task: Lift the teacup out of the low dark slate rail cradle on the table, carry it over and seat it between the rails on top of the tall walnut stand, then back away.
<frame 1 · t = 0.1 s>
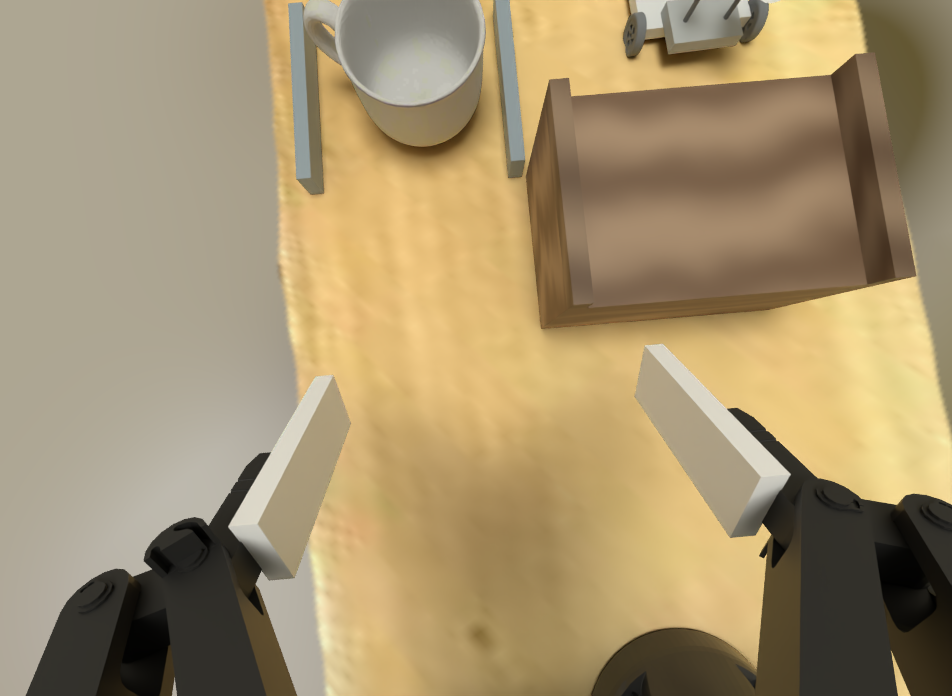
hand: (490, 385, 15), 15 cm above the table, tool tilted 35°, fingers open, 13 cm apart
walnut stand: (644, 241, 32), on the table
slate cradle: (410, 102, 33), on the table
teacup: (410, 104, 33), on the table
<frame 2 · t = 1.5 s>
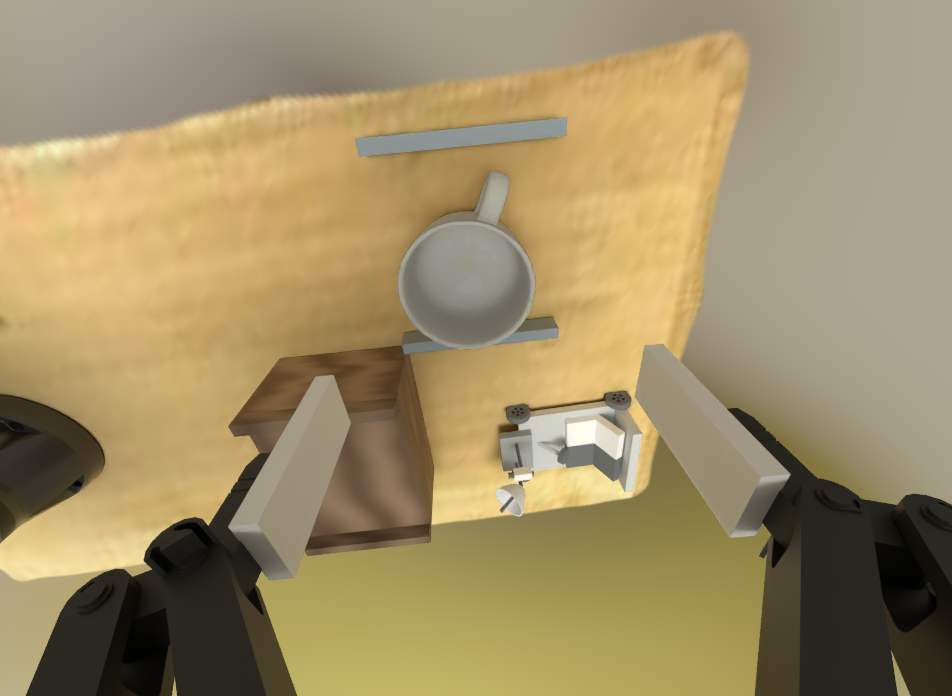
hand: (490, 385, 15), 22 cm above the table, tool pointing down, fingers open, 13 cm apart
walnut stand: (366, 419, 44), on the table
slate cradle: (471, 246, 34), on the table
teacup: (471, 246, 34), on the table
toy rover: (554, 429, 48), on the table
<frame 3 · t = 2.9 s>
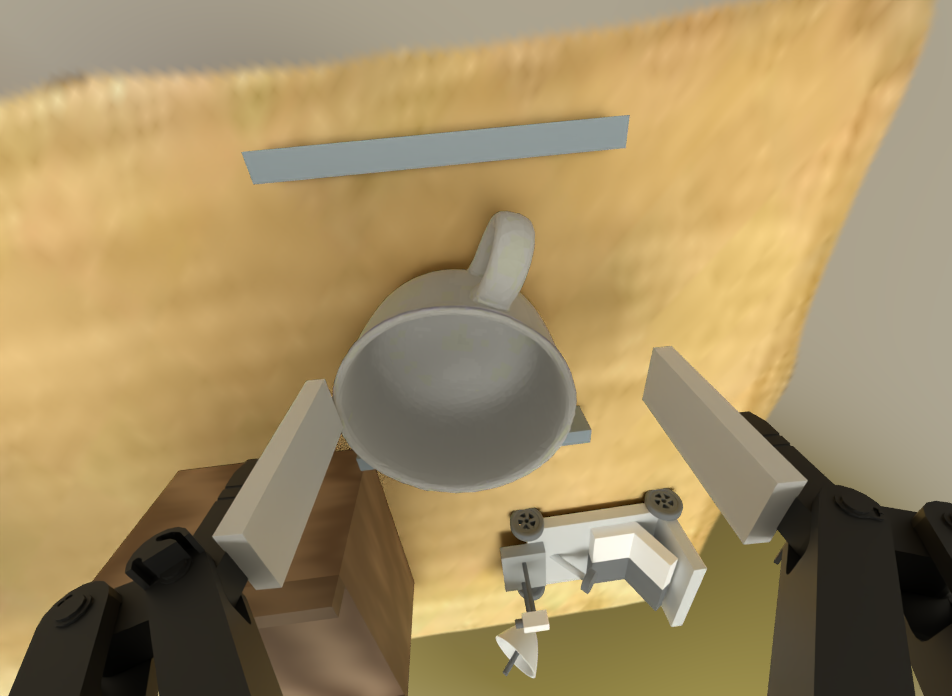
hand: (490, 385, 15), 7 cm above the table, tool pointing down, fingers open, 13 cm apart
walnut stand: (316, 536, 32), on the table
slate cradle: (460, 316, 22), on the table
teacup: (463, 312, 22), on the table, touching gripper
toy rover: (572, 531, 36), on the table
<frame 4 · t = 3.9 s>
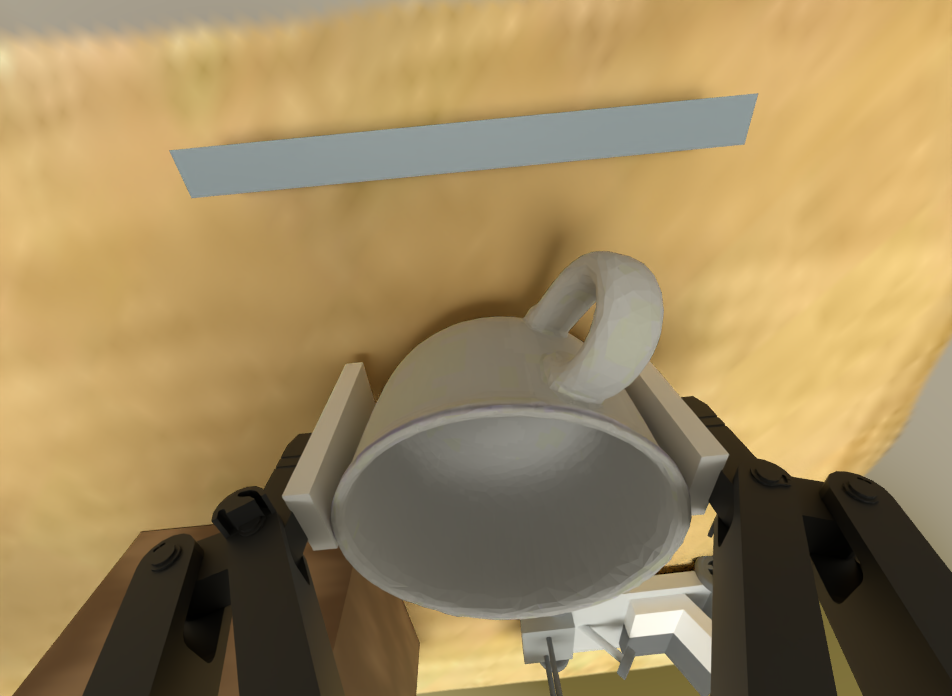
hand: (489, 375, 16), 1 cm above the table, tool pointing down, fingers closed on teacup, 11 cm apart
walnut stand: (307, 598, 27), on the table
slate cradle: (483, 363, 17), on the table
teacup: (505, 361, 17), on the table, touching gripper
toy rover: (604, 594, 31), on the table
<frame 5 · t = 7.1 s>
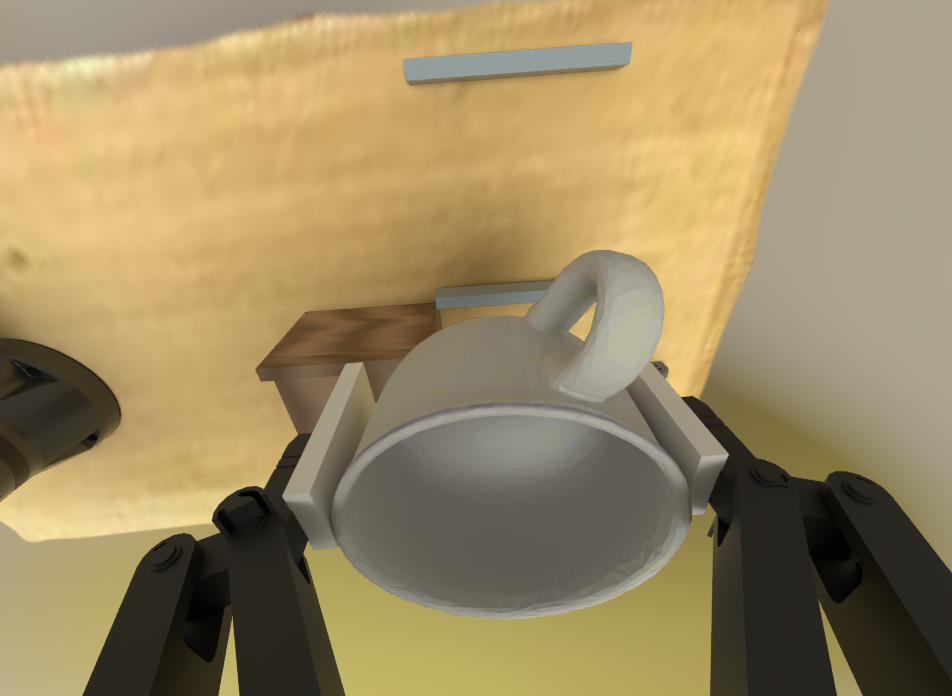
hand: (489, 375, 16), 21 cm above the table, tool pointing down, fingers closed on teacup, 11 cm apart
walnut stand: (390, 383, 42), on the table
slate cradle: (514, 194, 32), on the table
teacup: (505, 361, 17), point 20 cm above the table, touching gripper
when the fingers open (11 cm above the table, at t = 10.3 s): teacup drops 1 cm, resting on walnut stand.
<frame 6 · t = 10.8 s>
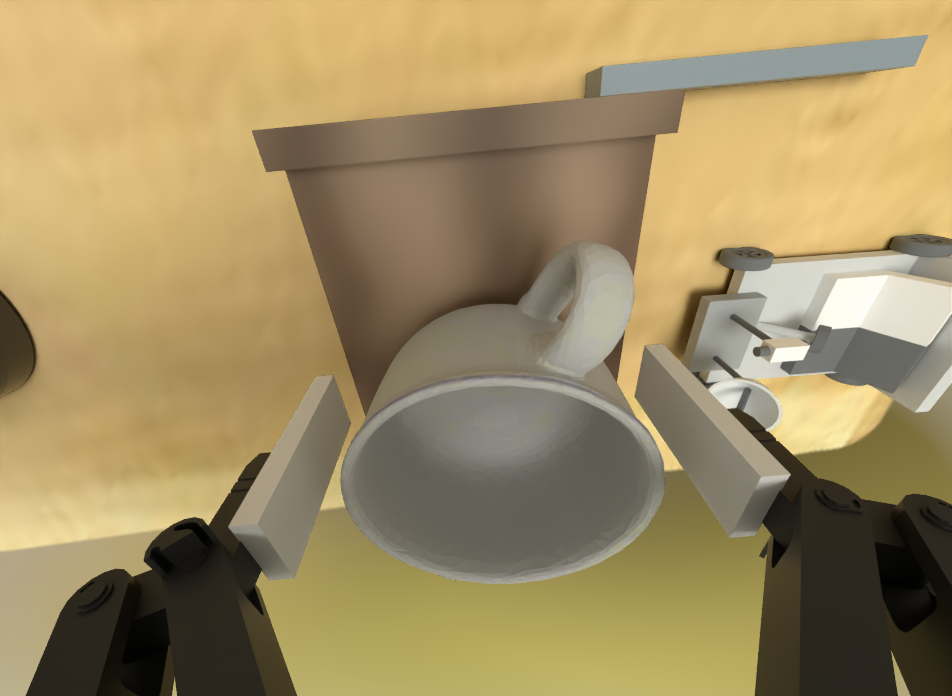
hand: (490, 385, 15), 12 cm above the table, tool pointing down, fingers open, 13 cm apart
walnut stand: (477, 284, 26), on the table
teacup: (501, 348, 18), point 9 cm above the table, touching walnut stand
toy rover: (767, 312, 29), on the table
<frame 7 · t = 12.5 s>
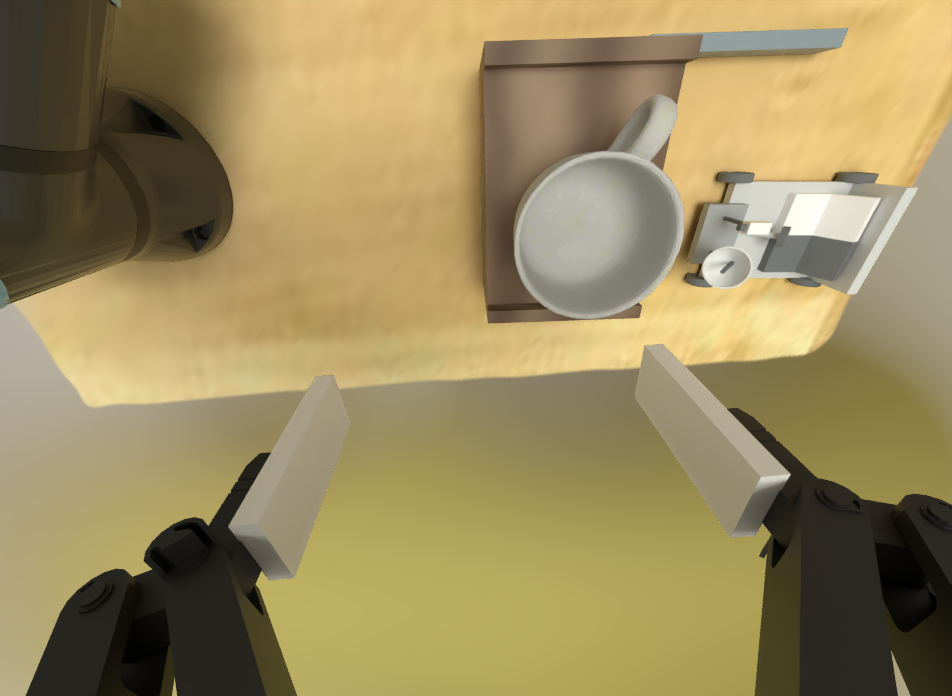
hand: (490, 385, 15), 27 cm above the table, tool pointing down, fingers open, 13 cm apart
walnut stand: (549, 189, 37), on the table
teacup: (580, 203, 29), point 9 cm above the table, touching walnut stand
toy rover: (750, 228, 40), on the table
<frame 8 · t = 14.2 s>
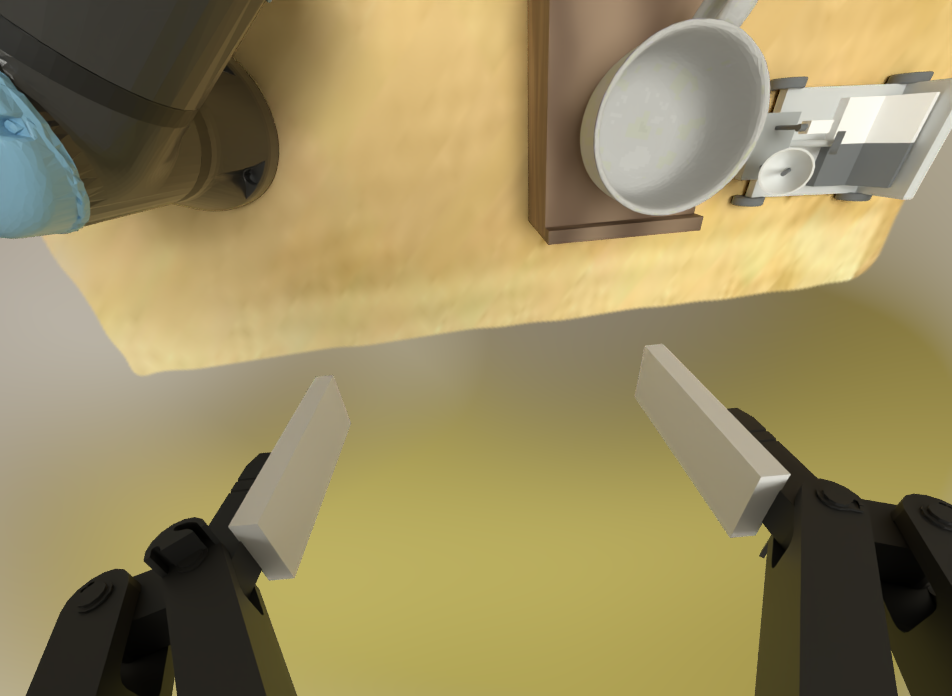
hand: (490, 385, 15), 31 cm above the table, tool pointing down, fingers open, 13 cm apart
walnut stand: (596, 113, 36), on the table
teacup: (642, 109, 29), point 9 cm above the table, touching walnut stand
toy rover: (797, 144, 39), on the table
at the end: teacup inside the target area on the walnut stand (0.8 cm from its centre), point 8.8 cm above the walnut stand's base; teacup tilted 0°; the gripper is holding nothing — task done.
